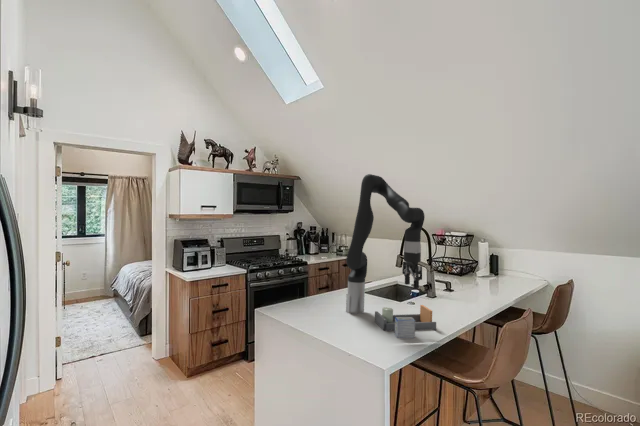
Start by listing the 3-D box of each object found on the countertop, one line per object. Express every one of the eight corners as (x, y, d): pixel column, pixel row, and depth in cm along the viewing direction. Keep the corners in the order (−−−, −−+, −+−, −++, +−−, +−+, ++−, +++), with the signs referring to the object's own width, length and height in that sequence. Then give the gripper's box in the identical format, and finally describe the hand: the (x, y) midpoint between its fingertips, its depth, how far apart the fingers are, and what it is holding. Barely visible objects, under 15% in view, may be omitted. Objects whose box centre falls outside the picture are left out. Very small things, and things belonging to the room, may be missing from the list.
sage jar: (384, 327, 154) (384, 310, 154) (380, 323, 159) (380, 307, 159) (394, 327, 155) (394, 310, 155) (390, 323, 160) (390, 307, 160)
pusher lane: (383, 332, 150) (384, 320, 150) (374, 323, 162) (375, 311, 162) (436, 330, 154) (436, 318, 154) (423, 321, 167) (423, 310, 167)
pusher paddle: (429, 327, 155) (430, 310, 155) (419, 320, 165) (420, 304, 165) (431, 327, 156) (432, 310, 155) (422, 320, 165) (422, 304, 165)
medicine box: (411, 336, 147) (412, 316, 147) (414, 340, 142) (415, 320, 142) (394, 335, 147) (394, 316, 146) (396, 339, 142) (397, 320, 142)
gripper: (397, 249, 156) (397, 283, 156) (412, 253, 142) (411, 290, 142) (412, 249, 157) (411, 282, 157) (427, 253, 143) (427, 289, 143)
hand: (411, 286), depth 150 cm, fingers open, 8 cm apart
